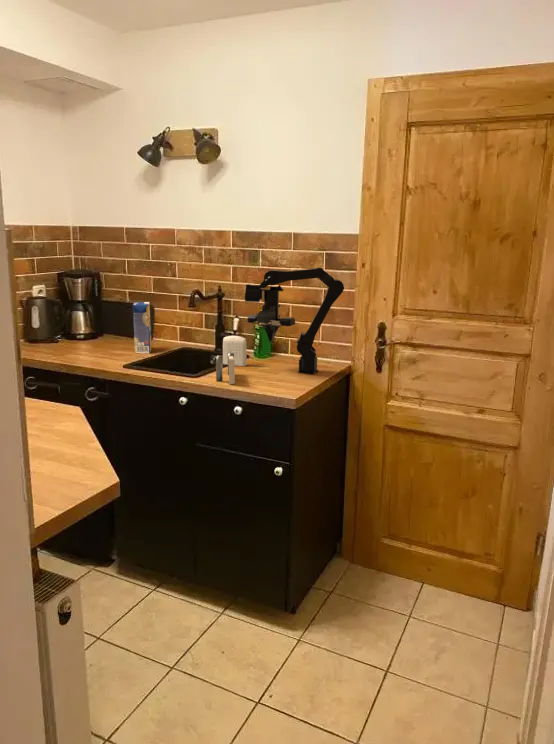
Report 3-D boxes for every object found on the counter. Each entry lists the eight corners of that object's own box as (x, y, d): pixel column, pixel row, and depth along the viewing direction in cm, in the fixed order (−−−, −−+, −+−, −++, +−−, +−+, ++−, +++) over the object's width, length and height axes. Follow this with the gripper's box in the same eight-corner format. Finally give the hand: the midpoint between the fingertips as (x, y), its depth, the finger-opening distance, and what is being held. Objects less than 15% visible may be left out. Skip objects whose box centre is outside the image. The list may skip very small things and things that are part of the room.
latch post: (223, 380, 213) (223, 355, 211) (220, 381, 211) (220, 356, 209) (218, 379, 214) (218, 355, 212) (214, 381, 212) (214, 356, 210)
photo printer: (247, 364, 239) (248, 335, 236) (244, 367, 235) (244, 337, 232) (225, 362, 242) (225, 334, 239) (221, 365, 238) (221, 335, 235)
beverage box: (151, 348, 269) (149, 302, 264) (150, 353, 259) (148, 305, 254) (136, 348, 268) (134, 302, 263) (134, 353, 258) (132, 305, 253)
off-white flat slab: (228, 375, 220) (228, 351, 218) (233, 375, 220) (233, 351, 218) (229, 384, 207) (229, 359, 205) (234, 384, 207) (234, 359, 205)
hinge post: (235, 374, 223) (235, 353, 221) (231, 375, 221) (231, 354, 219) (229, 373, 224) (229, 352, 222) (226, 374, 222) (226, 353, 220)
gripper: (240, 302, 220) (240, 342, 223) (283, 306, 212) (282, 347, 215) (254, 300, 230) (254, 338, 233) (296, 303, 221) (295, 342, 225)
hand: (270, 341), depth 226 cm, fingers closed
